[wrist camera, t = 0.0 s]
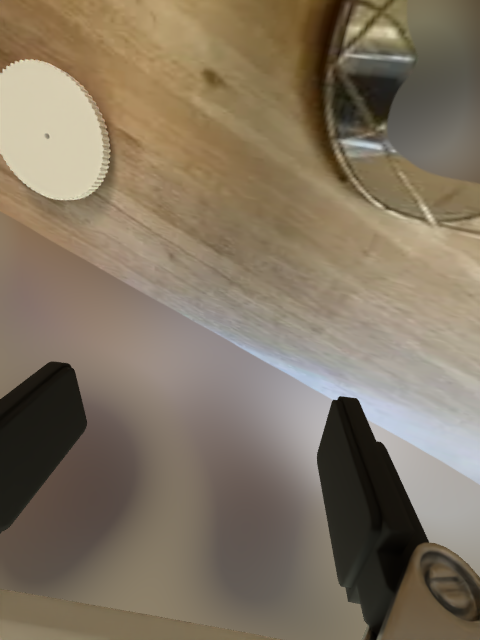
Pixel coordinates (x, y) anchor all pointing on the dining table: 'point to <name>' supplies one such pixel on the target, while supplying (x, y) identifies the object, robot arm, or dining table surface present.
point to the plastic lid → (51, 131)
